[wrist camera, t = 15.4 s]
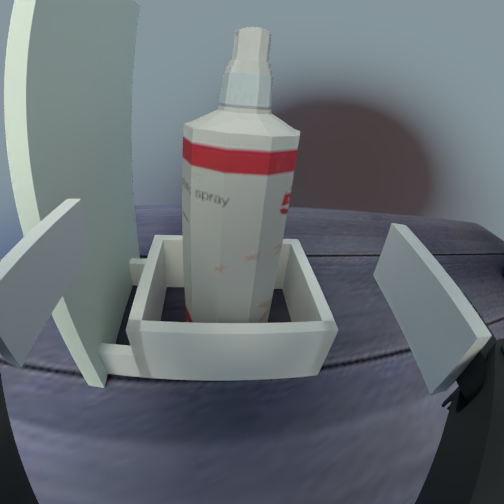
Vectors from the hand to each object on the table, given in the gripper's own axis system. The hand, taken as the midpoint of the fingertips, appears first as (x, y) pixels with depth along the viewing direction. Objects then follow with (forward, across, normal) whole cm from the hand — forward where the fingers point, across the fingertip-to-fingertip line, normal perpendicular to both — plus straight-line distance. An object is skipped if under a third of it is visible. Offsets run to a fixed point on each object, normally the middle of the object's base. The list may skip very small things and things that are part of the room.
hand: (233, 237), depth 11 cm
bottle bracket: (+10, -2, -15) cm, 18 cm away
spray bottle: (+10, 0, -15) cm, 18 cm away
